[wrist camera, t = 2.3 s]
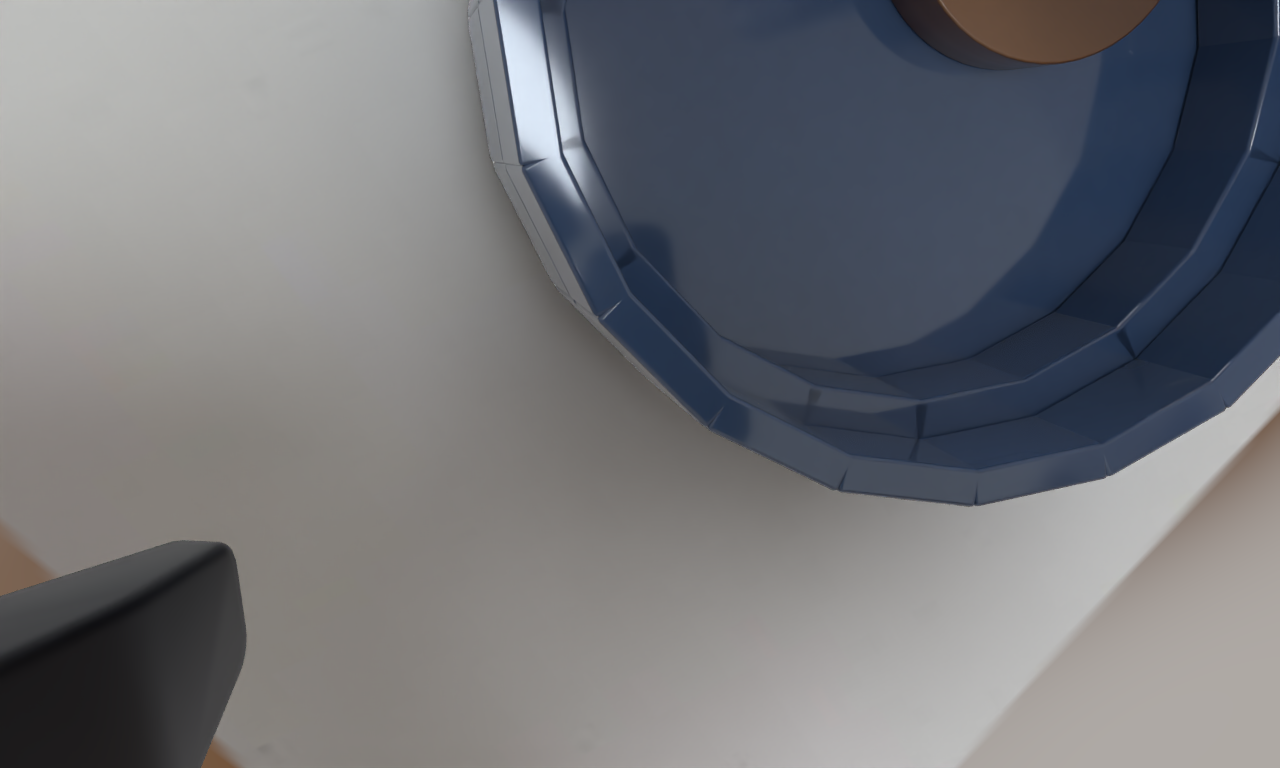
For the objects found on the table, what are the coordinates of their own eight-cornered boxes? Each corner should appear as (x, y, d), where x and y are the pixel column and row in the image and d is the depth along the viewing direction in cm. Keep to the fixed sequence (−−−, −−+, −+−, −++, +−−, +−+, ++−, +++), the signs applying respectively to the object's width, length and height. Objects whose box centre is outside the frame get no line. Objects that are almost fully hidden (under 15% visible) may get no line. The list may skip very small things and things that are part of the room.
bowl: (848, 581, 22) (962, 685, 18) (279, 14, 18) (249, -27, 14) (1359, 57, 23) (1593, 35, 18) (913, -623, 18) (1078, -858, 14)
